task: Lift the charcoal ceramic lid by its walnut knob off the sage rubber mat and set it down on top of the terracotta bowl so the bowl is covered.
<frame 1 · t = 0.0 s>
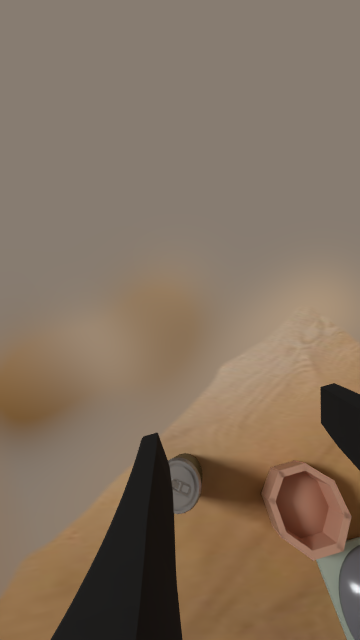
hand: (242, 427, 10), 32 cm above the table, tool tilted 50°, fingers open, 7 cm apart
beer can: (185, 472, 36), on the table
bowl: (296, 500, 33), on the table
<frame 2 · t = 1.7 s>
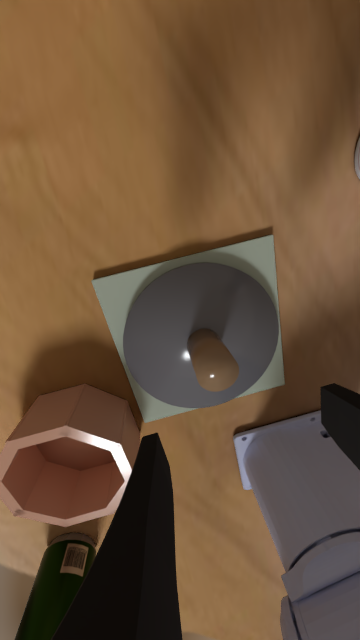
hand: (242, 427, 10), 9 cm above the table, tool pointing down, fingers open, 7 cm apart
lid: (201, 339, 18), resting on mat
mat: (200, 337, 19), on the table
beer can: (73, 544, 26), on the table
bowl: (83, 430, 20), on the table
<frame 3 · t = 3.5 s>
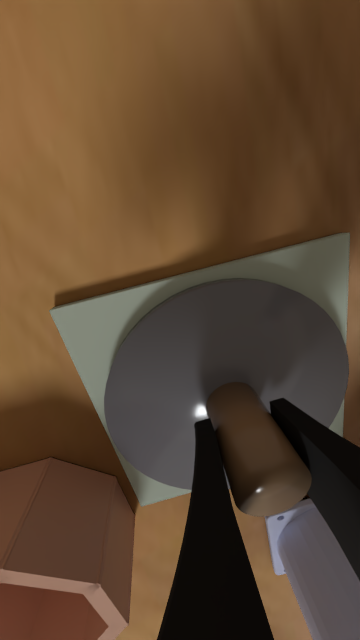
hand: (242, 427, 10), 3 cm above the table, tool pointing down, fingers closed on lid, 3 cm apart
lid: (226, 394, 12), resting on mat, touching gripper
mat: (224, 388, 12), on the table
bowl: (52, 517, 14), on the table
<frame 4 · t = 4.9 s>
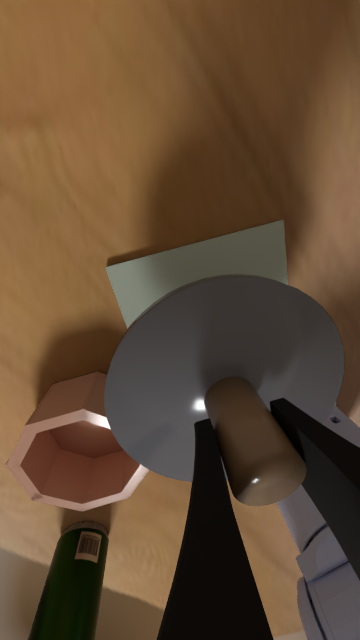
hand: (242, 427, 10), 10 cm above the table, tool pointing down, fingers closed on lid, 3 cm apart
lid: (225, 388, 12), point 7 cm above the table, touching gripper
mat: (211, 323, 19), on the table
beer can: (85, 533, 26), on the table
bowl: (96, 418, 21), on the table
when the fingers open (8 cm above the table, at t = 6.6 s): lid stays where it is, resting on bowl.
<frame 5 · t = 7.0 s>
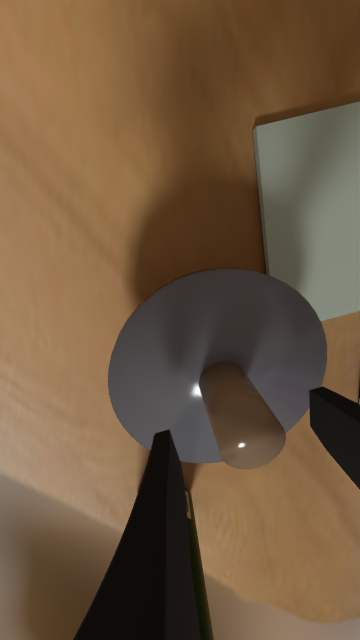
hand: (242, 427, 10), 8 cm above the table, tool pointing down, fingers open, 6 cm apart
lid: (218, 373, 13), point 4 cm above the table, touching bowl
mat: (354, 222, 16), on the table
beer can: (163, 491, 23), on the table
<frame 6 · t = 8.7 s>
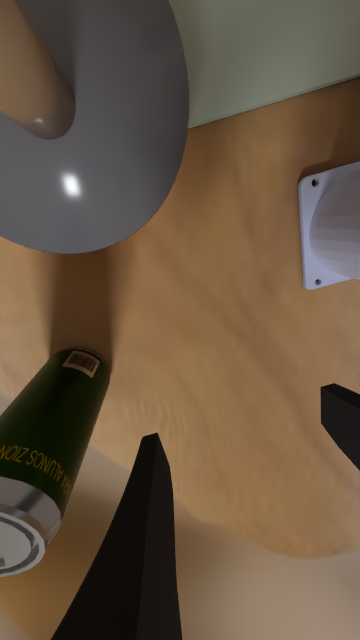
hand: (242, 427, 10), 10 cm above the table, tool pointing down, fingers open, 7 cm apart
lid: (51, 109, 10), point 4 cm above the table, touching bowl
beer can: (81, 369, 20), on the table
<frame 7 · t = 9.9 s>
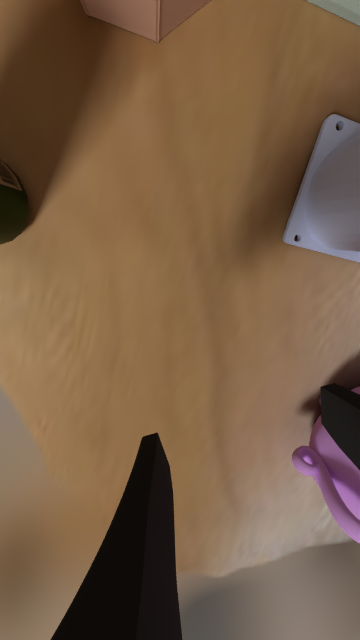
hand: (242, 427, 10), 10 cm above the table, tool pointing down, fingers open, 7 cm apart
teapot: (357, 414, 25), on the table
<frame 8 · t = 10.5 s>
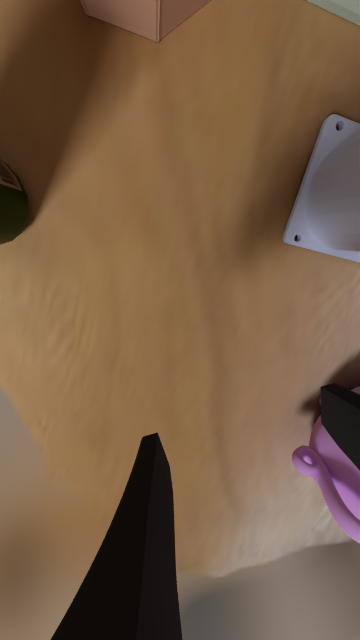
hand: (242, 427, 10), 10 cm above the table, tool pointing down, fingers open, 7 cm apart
teapot: (357, 414, 25), on the table
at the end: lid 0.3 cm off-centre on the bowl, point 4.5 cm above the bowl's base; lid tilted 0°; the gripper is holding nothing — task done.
